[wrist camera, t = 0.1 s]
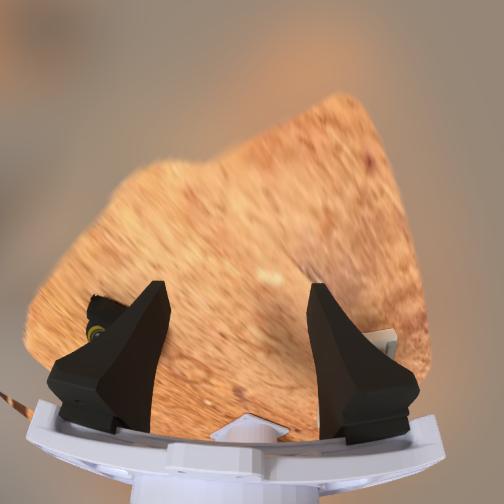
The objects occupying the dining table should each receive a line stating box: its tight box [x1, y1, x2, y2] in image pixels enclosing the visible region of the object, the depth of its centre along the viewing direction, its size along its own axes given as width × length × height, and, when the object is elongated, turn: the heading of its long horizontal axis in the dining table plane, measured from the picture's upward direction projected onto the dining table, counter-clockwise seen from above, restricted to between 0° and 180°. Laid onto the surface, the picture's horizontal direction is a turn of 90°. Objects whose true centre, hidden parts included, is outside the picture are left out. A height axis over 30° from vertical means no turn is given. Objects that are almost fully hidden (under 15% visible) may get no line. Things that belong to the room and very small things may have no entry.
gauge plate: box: [317, 328, 398, 428], centre depth 30 cm, size 16×8×4 cm, turn 6°
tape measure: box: [86, 294, 127, 342], centre depth 27 cm, size 7×7×4 cm
